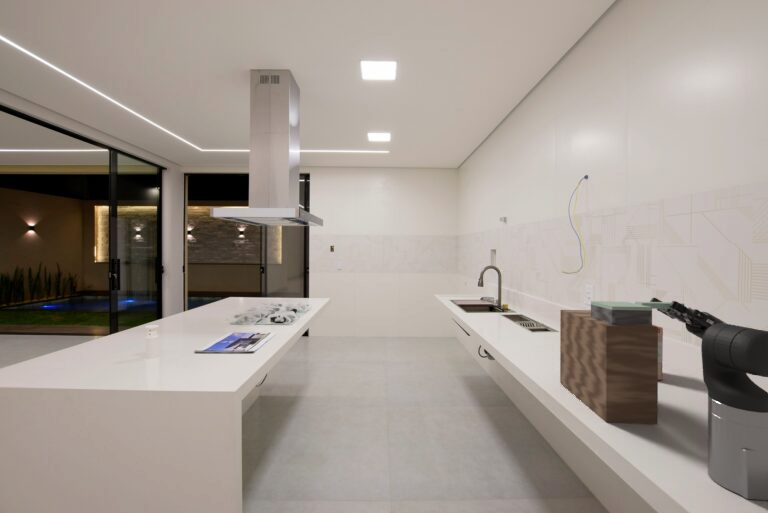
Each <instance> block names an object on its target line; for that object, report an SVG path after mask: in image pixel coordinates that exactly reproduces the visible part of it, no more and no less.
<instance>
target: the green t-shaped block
mask: <svg viewBox="0 0 768 513" xmlns="http://www.w3.org/2000/svg"><path fill="white" fill-rule="evenodd" d="M671 302H672V301H670V302H669V301H662V302H650V301H634V302H629V301H603V300H602V301H601V300H600V301H599V300H598V301H597V300H596V301H595V300H594V301H593V300H590V305H591V304H592V305H595V306H599V307H603V308H607V309H611V310H651V311H652V312H653V310H654V309H656V310H657V309H672V308H670V304H671ZM679 303H680V304H682V305H684V306H685V303H682V302H679Z"/></svg>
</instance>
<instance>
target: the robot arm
mask: <svg viewBox="0 0 768 513" xmlns="http://www.w3.org/2000/svg"><path fill="white" fill-rule="evenodd" d="M649 302H663V301H661V300H660V299H659V298H657V297H651V299H650V301H649ZM670 302H671V304H670V308H672V309H656V310H657V311H658V312H660V313H662V314H664V315H665V316H667V317H669V318H670V319H672V320H677V321H678V322H679V323H680V322H681V323H683V324H685V329H686V330H687V332H688V333H690V334H692V335H694V336H696V337H697V338H700V339H701V348H700V349H701V363H702V364H701V365H702V378H703V379H702V380H703V382H704V384H705V386H706V388H707V475H708V476H709V478H710V479H711V480H713V481H714V482H715V483H716V484H717V485H720V486H722V487H723V488H725V489H727V490H729V491H731V492H734V493H736V494H738V495H740V496H741V497H743V498H745V499H747V500H756V501H758V500H760V501H762V500H763V501H768V391H767V390H765V389H764V388H762V387H761V386H759V385H758V384H757V383H755V382H754V381H753V380H752V379H751V378H750V377H749V375H752V376H758V377H764V378H768V330H763V329H758V328H752V327H747V326H741V325H735V324H730V323H727V322H725V321H724V320H721V319H720V318H718V317H716V316H714V315H713V314H710V313H709V312H707V311H701V310H699V309H697V308H694V309H693V308H692V307H690V306H686V305H685V304H684V305H682V304H680V303H681V302H678V301H676V300H672V301H670Z"/></svg>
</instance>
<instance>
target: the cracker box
mask: <svg viewBox="0 0 768 513" xmlns="http://www.w3.org/2000/svg"><path fill="white" fill-rule="evenodd" d="M652 325H653V326H657V327H658V381H663V361H664V359H663V351H664V350H663V349H664V348H663V347H664V346H663V338H664V337H663V336H664V327H661V326H658V325H656V324H652Z"/></svg>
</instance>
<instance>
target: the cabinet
mask: <svg viewBox="0 0 768 513" xmlns="http://www.w3.org/2000/svg"><path fill="white" fill-rule="evenodd" d="M653 325H654V324H653V310H652V311H651V310H611V309H607V308H603V307H599V306H595V305H592V304H591V303H590V309H588V310H587V309H560V328H559V330H560V337H559V338H560V341H559V342H560V344H559V345H560V351H559V352H560V353H559V354H560V355H559V356H560V358H559V362H560V367H559V368H560V369H559V370H560V371H559V373H560V376H559V380H560V381H559V382H560V383H561V384H562V385H563V386H564V387H563V386H562V385H561V384H560V383H559V384H560V385H561V386H562V387H563V388H565V389H566V388H567V389H568V390H569V391H570V392H569V391H568V390H567V389H566V390H567V391H568V392H569V393H571V394H572V395H573V394H574V395H575V396H576V397H575V396H574V395H573V396H574V397H575V398H576V399H578V400H579V401H580V400H581V401H582V402H583V405H585V407H587V406H588V407H589V409H590V410H591V411H592V412H593V411H594V412H595V414H596V415H597V416H598V417H599V418H600V419H601V420H603V421H604V422H605V423H610V424H613V423H615V424H618V423H619V424H631V425H632V424H634V425H637V424H638V425H657V426H658V423H659V422H658V421H659V420H658V418H659V416H658V412H659V411H658V410H659V409H658V408H659V407H658V406H659V401H658V400H659V398H658V397H659V395H658V394H659V392H658V390H659V389H658V388H659V387H658V386H659V384H658V383H659V380H658V327H657V326H658V325H656V326H653ZM581 401H580V402H581ZM582 402H581V403H582ZM588 407H587V408H588ZM594 412H593V413H594Z"/></svg>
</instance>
